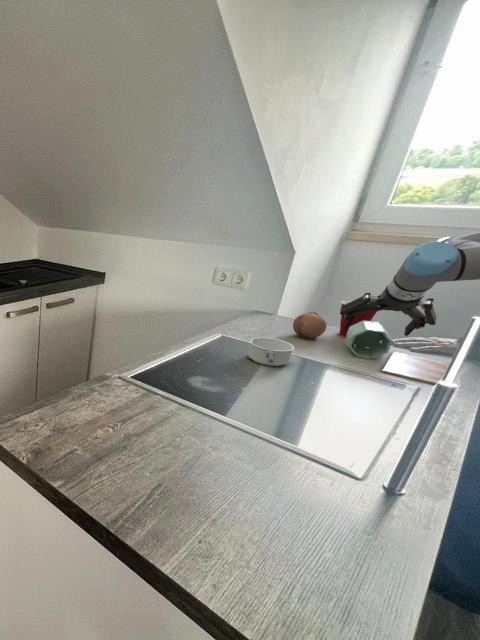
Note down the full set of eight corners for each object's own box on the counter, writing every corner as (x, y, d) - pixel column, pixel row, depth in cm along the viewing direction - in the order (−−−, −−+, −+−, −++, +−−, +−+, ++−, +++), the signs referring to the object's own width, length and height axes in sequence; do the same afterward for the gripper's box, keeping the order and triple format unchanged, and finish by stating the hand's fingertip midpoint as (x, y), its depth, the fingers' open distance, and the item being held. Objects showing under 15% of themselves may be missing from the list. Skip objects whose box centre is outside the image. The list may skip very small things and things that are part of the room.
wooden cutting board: (441, 386, 104) (442, 384, 103) (381, 371, 112) (382, 370, 112) (448, 364, 115) (449, 362, 115) (393, 353, 124) (394, 351, 123)
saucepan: (243, 373, 113) (247, 356, 111) (246, 350, 128) (250, 335, 126) (290, 382, 107) (296, 364, 105) (288, 357, 123) (293, 341, 120)
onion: (301, 341, 143) (309, 315, 142) (328, 343, 134) (337, 315, 133) (282, 334, 140) (291, 307, 140) (309, 336, 131) (318, 307, 131)
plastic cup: (366, 333, 140) (378, 301, 135) (372, 342, 132) (385, 308, 127) (328, 328, 146) (339, 297, 141) (332, 337, 137) (343, 304, 133)
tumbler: (384, 361, 119) (396, 332, 115) (345, 354, 124) (355, 327, 120) (379, 350, 126) (390, 323, 122) (342, 345, 131) (352, 319, 127)
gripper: (341, 295, 106) (321, 331, 123) (475, 308, 93) (432, 346, 110) (346, 272, 108) (326, 311, 125) (478, 282, 95) (435, 323, 112)
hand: (375, 327), depth 118 cm, fingers open, 13 cm apart
